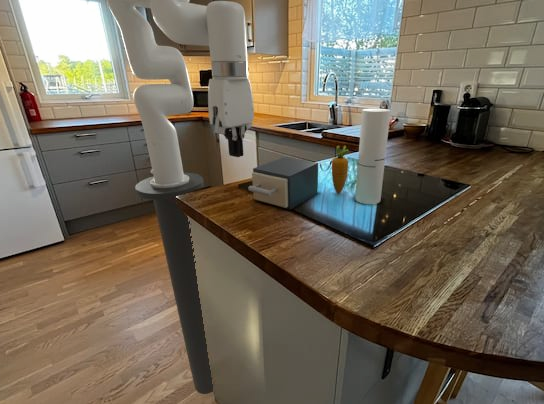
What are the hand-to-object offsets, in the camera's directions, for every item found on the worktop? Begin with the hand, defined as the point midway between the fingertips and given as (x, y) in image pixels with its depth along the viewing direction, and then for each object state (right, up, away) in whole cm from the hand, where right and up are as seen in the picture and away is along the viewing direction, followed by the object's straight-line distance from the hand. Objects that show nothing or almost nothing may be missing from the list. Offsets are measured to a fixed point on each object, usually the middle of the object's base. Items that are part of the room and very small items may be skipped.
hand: (236, 155), depth 71 cm
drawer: (+9, -10, +15) cm, 20 cm away
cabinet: (+12, -9, +18) cm, 24 cm away
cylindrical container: (+35, -10, +16) cm, 40 cm away
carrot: (+27, -9, +20) cm, 35 cm away
